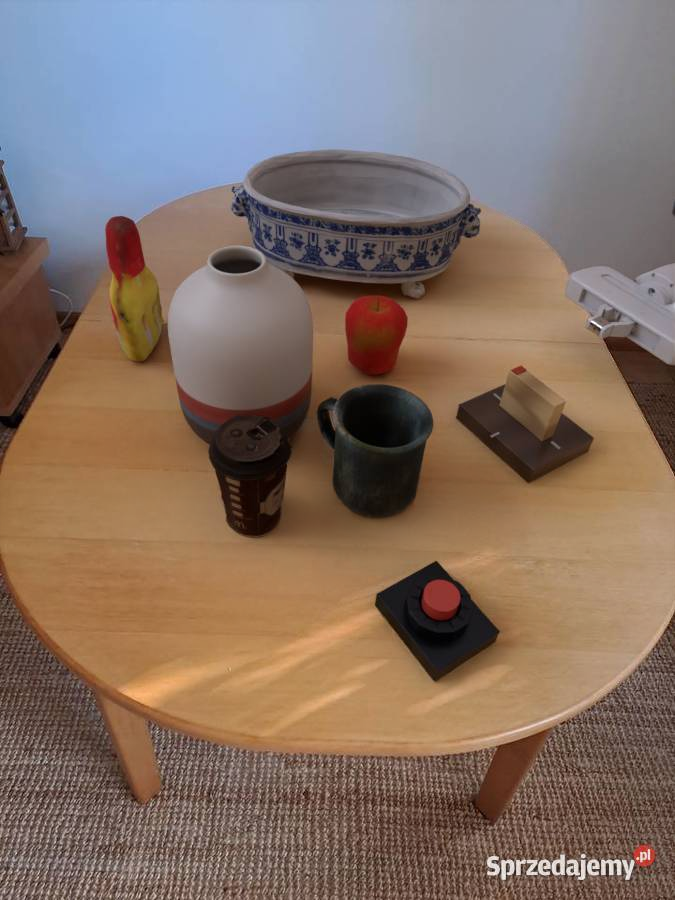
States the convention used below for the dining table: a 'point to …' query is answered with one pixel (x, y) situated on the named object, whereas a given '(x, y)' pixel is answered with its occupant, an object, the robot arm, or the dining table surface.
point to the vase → (241, 343)
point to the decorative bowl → (356, 216)
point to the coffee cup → (250, 472)
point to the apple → (374, 333)
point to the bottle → (132, 290)
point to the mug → (376, 446)
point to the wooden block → (532, 403)
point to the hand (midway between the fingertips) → (594, 328)
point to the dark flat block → (521, 437)
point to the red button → (440, 600)
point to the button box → (435, 623)
